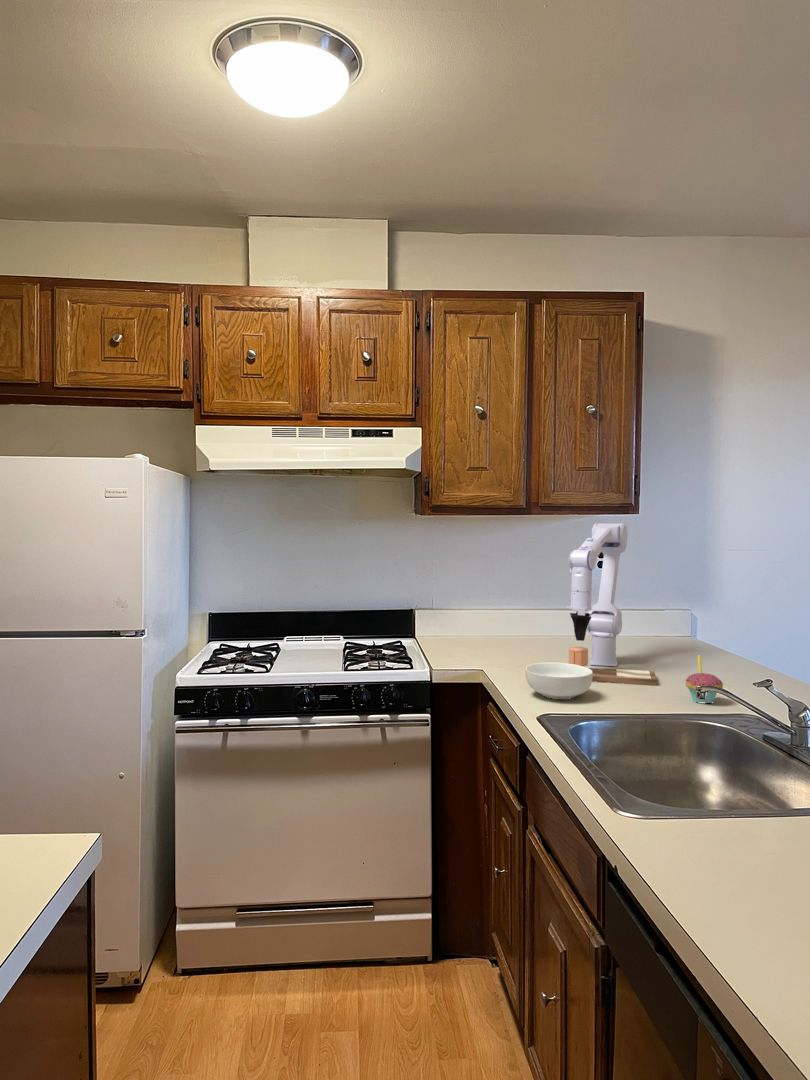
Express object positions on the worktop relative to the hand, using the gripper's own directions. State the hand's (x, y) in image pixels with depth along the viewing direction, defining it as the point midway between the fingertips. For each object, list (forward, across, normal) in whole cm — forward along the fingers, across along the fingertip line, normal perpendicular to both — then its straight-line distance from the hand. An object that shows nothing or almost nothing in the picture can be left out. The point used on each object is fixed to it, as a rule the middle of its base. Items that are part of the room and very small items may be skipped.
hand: (579, 639), depth 205 cm
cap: (+7, -1, 0) cm, 7 cm away
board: (+11, 0, +7) cm, 13 cm away
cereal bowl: (+13, +22, -6) cm, 26 cm away
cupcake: (+12, +21, +30) cm, 38 cm away
